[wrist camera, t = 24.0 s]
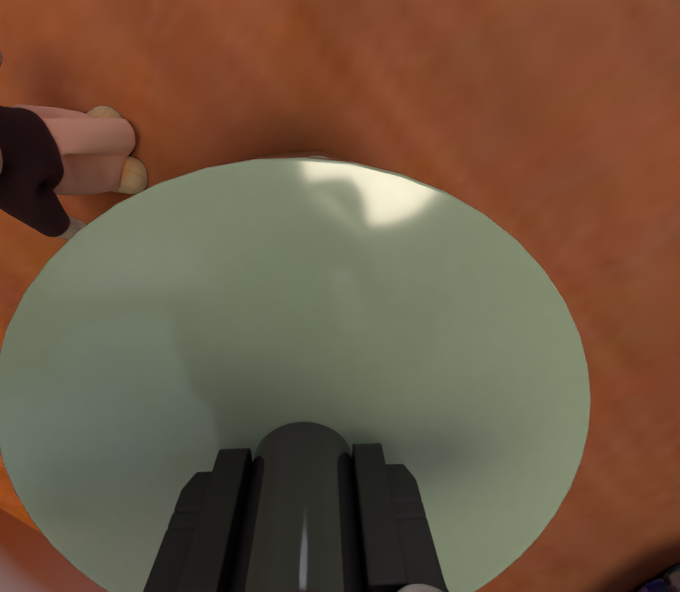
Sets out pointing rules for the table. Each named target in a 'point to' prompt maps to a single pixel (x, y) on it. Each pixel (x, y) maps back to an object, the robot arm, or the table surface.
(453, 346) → the pot lid
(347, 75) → the table surface
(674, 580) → the decorative bowl
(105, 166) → the grandmother figurine
